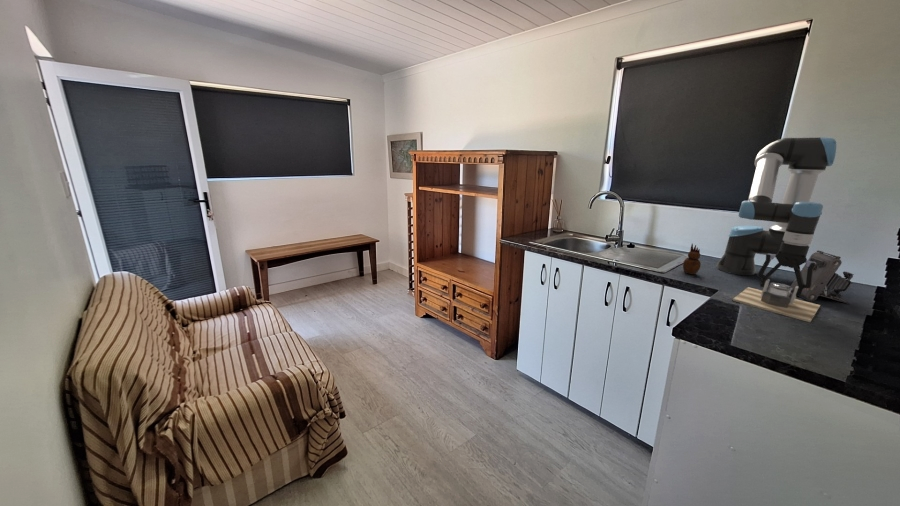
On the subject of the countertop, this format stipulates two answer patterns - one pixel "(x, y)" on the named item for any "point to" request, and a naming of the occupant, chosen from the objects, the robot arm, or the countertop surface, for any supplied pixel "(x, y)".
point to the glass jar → (780, 289)
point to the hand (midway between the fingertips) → (777, 298)
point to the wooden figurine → (692, 261)
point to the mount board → (794, 310)
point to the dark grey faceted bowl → (776, 299)
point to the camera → (824, 278)
